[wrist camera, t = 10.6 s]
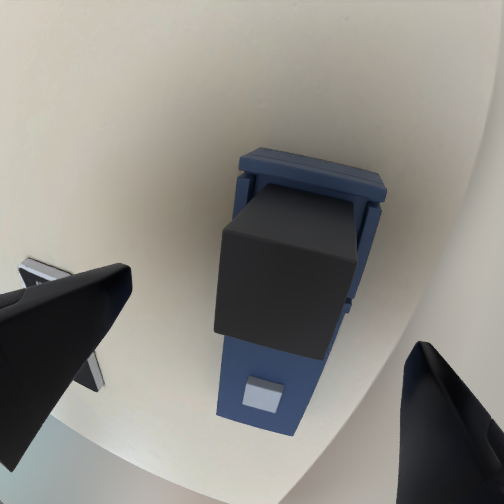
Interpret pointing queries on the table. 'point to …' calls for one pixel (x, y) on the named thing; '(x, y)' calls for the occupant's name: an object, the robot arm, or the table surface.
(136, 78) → the table surface
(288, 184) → the blue long open box
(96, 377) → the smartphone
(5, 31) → the table surface
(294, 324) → the block
